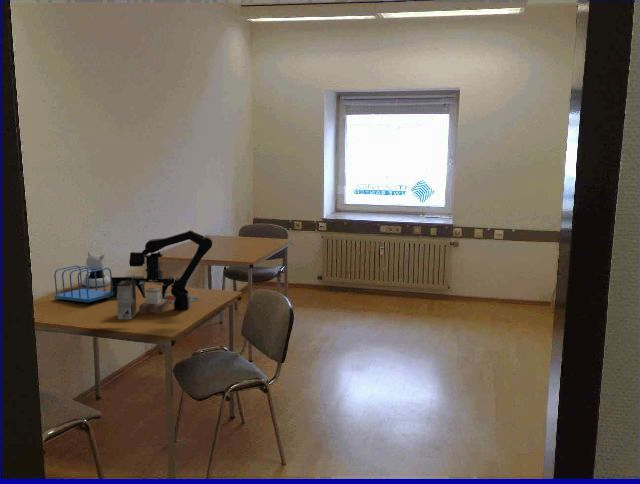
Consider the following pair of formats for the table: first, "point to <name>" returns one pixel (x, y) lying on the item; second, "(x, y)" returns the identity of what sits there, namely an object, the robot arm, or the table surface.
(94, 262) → the decorative figurine
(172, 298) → the relief map
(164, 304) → the walnut block
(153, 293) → the cream capped cube
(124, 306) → the coffee box
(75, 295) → the file sorter
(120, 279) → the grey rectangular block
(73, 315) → the table surface
